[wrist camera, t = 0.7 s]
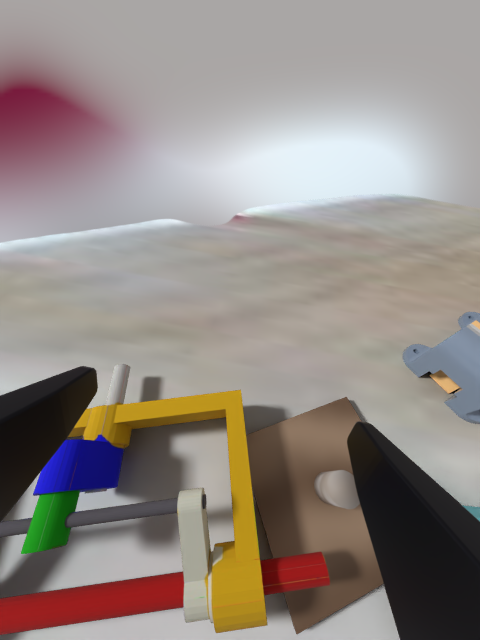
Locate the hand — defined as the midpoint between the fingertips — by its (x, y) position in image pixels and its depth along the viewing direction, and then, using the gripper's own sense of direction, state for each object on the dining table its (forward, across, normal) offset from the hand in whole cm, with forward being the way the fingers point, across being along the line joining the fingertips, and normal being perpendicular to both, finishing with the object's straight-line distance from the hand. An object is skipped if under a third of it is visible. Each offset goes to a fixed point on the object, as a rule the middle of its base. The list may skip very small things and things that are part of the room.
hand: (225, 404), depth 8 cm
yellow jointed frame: (+7, +7, +16) cm, 19 cm away
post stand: (+7, -10, +14) cm, 19 cm away
